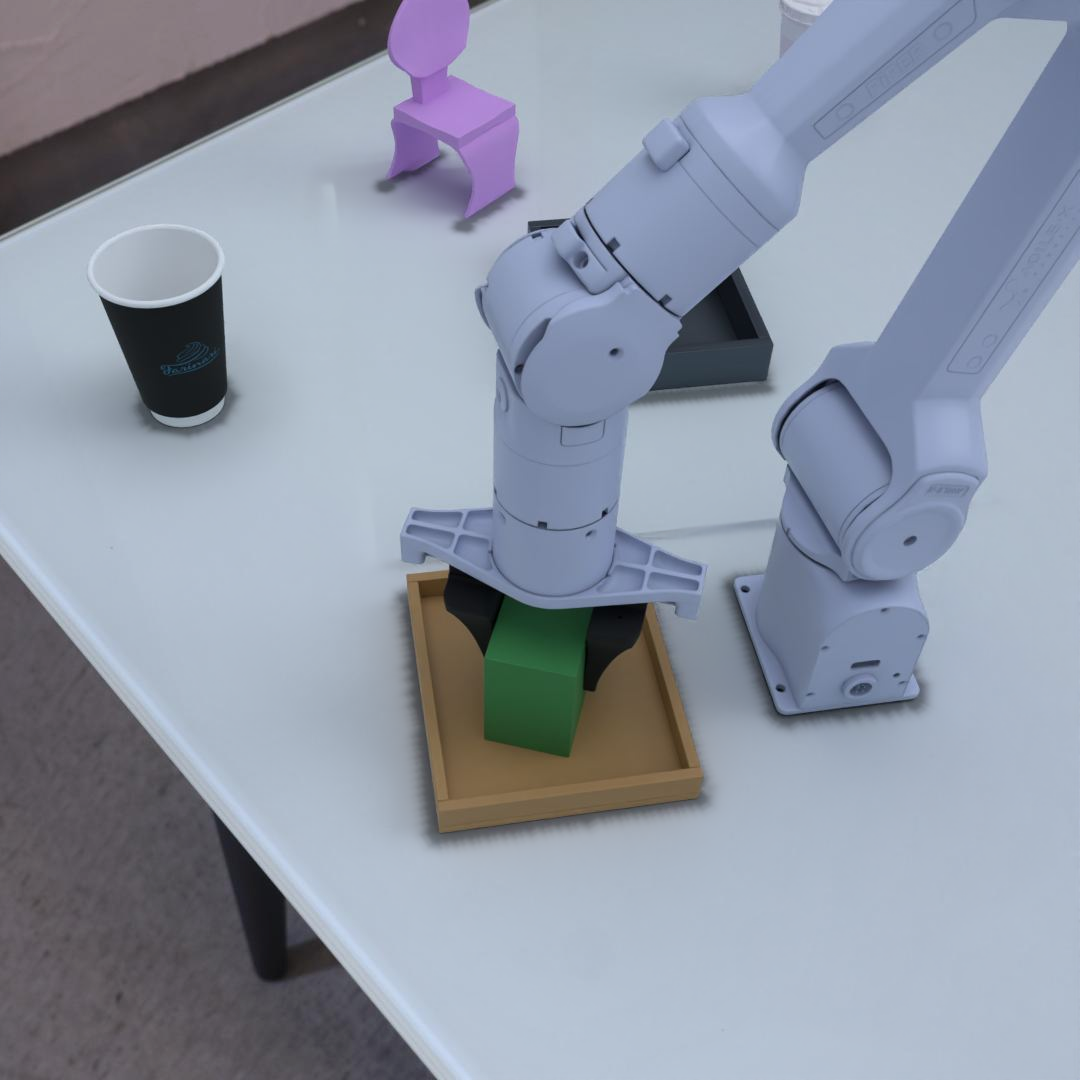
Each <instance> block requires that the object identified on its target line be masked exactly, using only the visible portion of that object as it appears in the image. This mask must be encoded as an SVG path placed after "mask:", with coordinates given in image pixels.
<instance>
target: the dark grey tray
mask: <svg viewBox="0 0 1080 1080" xmlns="http://www.w3.org/2000/svg"><path fill="white" fill-rule="evenodd" d="M570 218H571V217H568V218H556V219H555V218H554V219H553V218H552V219H541V220H528V221H527V234H529V233H531V232H534V231H537V230H541V229H548V228H558V227H559V226H560V225H562V224H563V223H564V222H565V221H566V220H569V219H570ZM680 323H681V324H682V328H681V329H680V330H679V331H678V332H677V333H678V334H679V337H678V338H677V339H675V340H674V341H673V342H672V343H671V344H670V346H669V347H668V349H667V350H666V353H665V356H664V361H663V365H662V368H661V371H660V373H659V375H658V377H657V379H656V381H655V383H654V384H653V386H652V387H651V389H650V390H649V391H648V392H656V391H666V390H677V389H688V388H698V387H699V388H700V387H709V386H710V387H711V386H720V385H731V384H739V383H740V384H742V383H755V382H763V381H767V379H768V375H769V370H770V365H771V359H772V355H773V350H774V346H775V344H774V342H773V340H772V338H771V335H770V333H769V330H768V329H767V326H766V324H765V322H764V320H763V317H762V315H761V313H760V311H759V309H758V306H757V304H756V302H755V299H754V297H753V295H752V292H751V291H750V288H749V286H748V284H747V281H746V279H745V277H744V275H743V272H742V270H741V268H740V267H738V268H737V269H736V270H735V271H734V272H733V273H732V274H730V275H729V276H728V277H727V278H726V279H725V280H724V281H723V282H721V283H720V284H719V285H718V286H717V287H716V288H715V289H713V290H712V291H711V292H710V293H709V294H708V295H707V296H706V297H704V298H703V299H702V300H701V301H700V302H699V303H698V304H696V305H695V306H694V307H693V308H692V309H691V310H690V311H688V312H687V313H686V314H685V315H684V316H682V318H681V319H680Z"/></svg>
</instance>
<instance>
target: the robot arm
mask: <svg viewBox="0 0 1080 1080" xmlns="http://www.w3.org/2000/svg"><path fill="white" fill-rule="evenodd" d="M998 19H1017V20H1018V19H1019V20H1036V21H1050V22H1051V21H1053V22H1066V32H1065V34H1064V36H1063V38H1062V39H1061V41H1060V42H1059V43H1058V45H1057V47H1056V49H1055V51H1054V52H1053V54H1052V55H1051V57H1050V59H1049V60H1048V62H1047V63H1046V65H1045V66H1044V68H1043V70H1042V72H1041V73H1040V74H1039V77H1038V78H1037V80H1036V81H1035V83H1034V85H1033V86H1032V88H1031V90H1030V91H1029V93H1028V94H1027V96H1026V98H1025V100H1024V101H1023V103H1022V104H1021V105H1020V107H1019V109H1018V111H1017V113H1016V114H1015V115H1014V117H1013V119H1012V121H1011V122H1010V123H1009V125H1008V127H1007V128H1006V130H1005V132H1004V133H1003V135H1002V137H1001V138H1000V141H998V143H997V145H996V147H995V148H994V150H992V153H991V155H990V156H989V158H988V159H987V161H986V163H985V164H984V166H983V168H982V169H981V171H980V172H979V174H978V176H977V177H976V179H975V181H974V183H973V184H972V186H971V187H970V188H969V190H968V192H967V193H966V195H965V197H964V199H963V200H962V201H961V203H960V205H959V207H958V208H957V209H956V211H955V213H954V215H953V216H952V218H951V220H950V221H949V223H948V224H947V225H946V227H945V229H944V231H943V233H942V234H941V236H940V237H939V239H938V241H937V242H936V244H935V245H934V247H933V249H932V250H931V252H930V254H929V255H928V257H927V259H926V260H925V261H924V264H923V265H922V267H921V268H920V269H919V271H918V273H917V275H916V276H915V278H914V280H913V281H912V283H911V284H910V286H909V288H908V289H907V291H906V293H904V296H903V298H902V299H901V301H900V303H898V305H897V308H896V309H895V311H894V312H893V314H892V316H891V317H890V319H889V320H888V322H887V324H886V325H885V327H884V328H883V330H882V332H881V333H880V335H879V336H878V338H877V339H876V341H869V340H868V341H867V340H866V341H855V342H854V341H853V342H847V343H841V344H838V345H835V346H832V347H831V348H830V350H829V351H828V353H827V355H826V356H825V358H824V360H823V361H822V363H821V364H820V366H819V367H818V369H817V370H816V371H815V372H814V373H813V374H812V375H811V377H809V378H808V379H807V380H806V381H805V382H803V383H802V384H801V385H800V386H799V387H797V388H796V389H795V390H794V391H793V392H792V393H790V395H789V396H788V397H786V399H785V400H784V402H783V403H782V404H781V405H780V407H779V408H778V410H777V412H776V413H775V416H774V419H773V421H772V424H771V430H770V432H771V433H770V437H771V441H772V445H773V446H774V449H775V450H776V452H777V453H778V455H780V457H781V459H782V460H783V461H786V463H787V464H786V467H785V471H784V475H783V480H782V481H783V483H784V486H785V491H784V493H783V494H784V495H783V499H782V503H781V507H780V509H779V514H778V519H777V523H776V526H775V531H774V535H773V539H772V544H771V548H770V550H769V551H770V552H769V554H768V555H769V556H768V559H767V564H766V568H765V572H764V573H761V574H760V573H759V574H749V575H741V576H737V577H736V578H735V579H734V580H733V584H732V586H733V589H734V592H735V595H736V599H737V601H738V604H739V608H740V610H741V613H742V615H743V618H744V622H745V624H746V628H747V630H748V633H749V635H750V638H751V641H752V643H753V647H754V649H755V652H756V654H757V655H756V656H757V658H758V661H759V664H760V666H761V669H762V673H763V675H764V678H765V681H766V684H767V686H768V689H769V692H770V695H771V698H772V702H773V704H774V706H775V710H776V711H777V712H778V713H779V714H781V715H783V716H784V715H785V716H789V715H798V714H804V713H812V712H813V713H814V712H819V711H820V712H821V711H828V710H837V709H843V708H850V707H851V708H852V707H859V706H868V705H874V704H875V705H876V704H882V703H883V704H884V703H890V702H898V701H899V702H900V701H906V700H907V701H908V700H914V699H916V698H917V697H918V696H919V694H920V690H921V688H920V686H919V683H918V682H917V679H916V677H915V674H914V671H915V669H916V666H917V664H918V660H919V658H920V656H921V654H922V651H923V649H924V646H925V644H926V642H927V640H928V636H929V633H930V627H931V625H930V620H929V616H928V614H927V610H926V609H925V606H924V603H923V600H922V598H921V595H920V590H919V584H918V578H917V574H918V572H920V571H923V570H924V569H926V568H927V567H929V566H931V565H933V564H934V563H935V562H936V561H938V560H939V559H940V558H942V557H943V556H944V555H945V554H946V553H947V552H948V551H949V550H950V549H951V548H952V547H953V546H954V544H955V543H956V541H957V539H958V538H959V536H960V534H961V533H962V531H963V529H964V527H965V524H966V522H967V520H968V514H969V509H970V504H971V502H972V500H973V497H974V496H975V494H976V493H977V491H978V490H979V488H980V486H981V485H982V484H983V482H984V481H985V480H986V479H987V477H988V476H989V461H988V455H987V447H986V439H985V431H984V424H983V417H982V404H981V403H982V398H983V396H984V395H985V394H986V392H987V391H988V390H989V388H990V387H991V386H992V384H993V383H994V381H995V380H996V378H997V377H998V375H999V374H1000V372H1001V371H1002V370H1003V369H1004V367H1005V366H1006V364H1007V363H1008V361H1009V360H1010V358H1011V357H1012V356H1013V354H1014V353H1015V351H1016V350H1017V349H1018V347H1019V346H1020V344H1021V343H1022V341H1023V340H1024V338H1025V337H1026V336H1027V335H1028V333H1029V331H1030V330H1031V329H1032V327H1033V326H1034V325H1035V323H1036V322H1037V320H1038V319H1039V317H1041V315H1042V313H1043V311H1044V310H1045V309H1046V307H1047V306H1048V304H1049V303H1050V301H1052V299H1053V298H1054V296H1055V295H1056V293H1057V292H1058V290H1059V289H1060V287H1061V286H1062V285H1063V283H1064V282H1065V281H1066V279H1067V277H1068V276H1069V275H1070V273H1071V272H1072V271H1073V269H1074V268H1075V266H1076V265H1077V263H1078V262H1079V261H1080V0H834V1H833V2H832V3H831V4H830V5H829V6H828V7H827V8H826V9H825V10H824V11H823V13H822V14H821V15H820V16H819V17H818V18H817V19H816V20H815V21H814V22H813V23H812V24H811V25H810V26H809V28H808V29H807V30H806V31H805V32H804V33H803V34H802V35H801V36H800V37H799V38H798V39H797V40H796V41H795V43H794V44H793V45H792V46H791V47H790V48H789V49H788V50H787V51H786V52H785V53H784V54H783V55H782V57H781V58H780V59H779V58H778V60H777V61H776V62H775V63H774V64H773V65H772V66H771V67H770V68H769V69H768V70H767V72H766V73H764V75H763V76H762V77H761V78H760V79H759V80H758V81H757V82H756V83H755V84H754V85H753V86H752V87H751V89H749V91H747V92H745V93H742V94H734V95H733V94H732V95H714V96H712V95H711V96H702V97H698V98H695V99H693V101H691V102H690V103H689V105H687V106H686V107H685V108H684V109H683V110H682V111H680V113H679V114H678V115H677V116H676V117H675V118H674V119H673V120H671V119H669V118H662V120H660V121H659V123H657V125H656V126H654V128H652V130H650V132H648V133H647V134H646V135H645V136H643V138H642V140H641V144H642V146H643V148H642V149H641V150H640V151H639V152H638V153H637V154H636V155H635V156H633V158H632V159H631V160H630V161H629V162H628V163H627V164H626V165H625V166H623V167H622V168H621V169H620V171H618V172H617V173H616V174H615V175H614V176H613V177H612V178H611V179H610V180H609V181H607V182H606V184H605V185H603V187H601V188H600V190H598V191H597V192H596V193H595V194H594V195H593V196H592V197H591V198H590V199H589V200H588V201H587V202H585V205H583V206H582V207H581V208H580V209H578V210H577V211H576V213H574V214H573V215H572V216H571V217H569V218H570V219H569V220H566V221H565V222H564V223H563V224H562V225H560V226H559V227H558V228H548V229H541V230H537V231H534V232H531V233H529V234H524V235H522V236H521V237H519V238H517V239H516V240H514V241H513V242H511V243H510V244H509V245H508V246H507V247H506V248H505V249H504V250H503V251H502V252H501V253H500V255H499V256H498V257H497V259H496V260H495V262H494V264H493V266H492V267H491V269H490V270H489V272H488V274H487V276H486V278H485V280H486V283H485V284H481V285H478V286H477V287H475V289H474V291H473V292H474V293H473V294H474V299H475V305H476V308H477V310H478V312H479V314H480V317H481V319H482V320H483V322H484V324H485V325H486V327H487V328H488V329H489V330H490V331H491V333H492V336H493V337H494V340H495V342H496V345H497V347H498V349H497V351H496V354H495V361H496V362H495V398H494V402H493V442H492V443H493V446H492V447H493V448H492V449H493V451H492V453H493V455H492V456H493V457H492V506H490V507H489V506H488V507H473V508H459V509H458V508H457V509H430V508H429V509H427V508H421V507H414V506H411V507H410V510H409V512H408V514H407V517H406V519H405V521H404V524H403V526H402V529H401V530H400V533H399V542H400V557H401V560H400V561H401V562H402V563H408V564H413V565H423V564H424V563H425V562H426V559H427V557H430V558H434V559H438V560H441V561H442V562H444V563H446V564H447V565H448V570H449V574H448V581H447V584H446V586H445V589H444V593H443V599H444V604H445V608H446V611H448V612H449V613H451V614H452V615H454V616H455V617H456V618H458V619H459V620H460V621H461V622H462V623H463V624H464V625H465V626H466V627H467V629H468V630H469V631H470V633H471V634H472V635H473V637H474V639H475V640H476V642H477V644H478V646H479V648H480V650H481V652H482V654H483V657H485V654H486V651H487V648H488V645H489V642H490V639H491V635H492V632H493V629H494V626H495V623H496V620H497V617H498V614H499V611H500V608H501V605H502V602H503V599H504V596H505V594H506V595H508V596H510V597H512V598H514V599H516V600H518V601H520V602H522V603H524V604H527V605H530V606H533V607H538V608H544V609H568V608H581V607H593V611H592V615H591V619H590V622H589V626H588V630H587V636H586V638H587V647H588V649H587V664H586V668H585V672H584V680H583V690H586V691H591V692H594V691H596V687H597V683H598V681H599V679H600V677H601V676H602V674H603V672H604V671H605V669H606V668H607V667H608V665H609V664H610V663H611V662H612V661H613V660H614V659H615V658H616V657H617V656H618V655H620V654H621V653H623V652H624V651H626V650H628V649H631V648H632V647H633V646H634V645H635V643H636V642H637V640H638V638H639V636H640V634H641V631H642V627H643V622H644V618H645V614H646V609H647V605H648V603H650V602H653V603H660V604H665V605H669V606H675V607H674V615H676V617H678V618H682V619H687V620H691V621H697V620H698V616H699V611H700V607H701V600H702V596H703V591H704V586H705V581H706V575H707V570H708V564H706V563H702V562H699V561H694V560H690V559H687V558H684V557H681V556H679V555H677V554H674V553H672V552H670V551H667V550H665V549H663V548H661V547H660V546H657V545H655V544H654V543H651V542H649V541H648V540H645V539H643V538H641V537H639V536H637V535H636V534H635V535H634V534H632V533H631V532H628V531H627V530H625V529H623V528H621V527H618V526H617V523H618V516H619V515H618V513H619V505H620V496H621V495H620V494H621V485H622V478H623V470H624V460H625V451H626V442H627V433H628V425H629V417H630V415H629V414H630V413H629V410H630V405H632V404H633V403H634V402H636V401H638V400H641V399H642V398H643V397H645V396H646V395H647V394H648V392H650V391H649V390H650V389H651V387H652V386H653V384H654V383H655V381H656V379H657V377H658V375H659V373H660V371H661V368H662V365H663V361H664V356H665V353H666V350H667V349H668V347H669V346H670V344H671V343H672V342H673V341H674V340H675V339H677V338H678V337H679V334H678V333H677V332H678V331H679V330H680V329H681V328H682V324H681V323H680V319H681V318H682V316H684V315H685V314H686V313H687V312H688V311H690V310H691V309H692V308H693V307H694V306H695V305H696V304H698V303H699V302H700V301H701V300H702V299H703V298H704V297H706V296H707V295H708V294H709V293H710V292H711V291H712V290H713V289H715V288H716V287H717V286H718V285H719V284H720V283H721V282H723V281H724V280H725V279H726V278H727V277H728V276H729V275H730V274H732V273H733V272H734V271H735V270H736V269H737V268H738V267H739V268H740V267H741V266H742V265H743V264H745V262H747V261H748V260H749V259H750V258H751V257H752V256H753V255H755V254H756V253H757V252H758V251H759V250H760V249H762V247H764V246H765V245H766V244H767V243H768V242H769V241H770V240H771V239H773V238H774V237H775V236H776V235H777V234H778V233H780V232H781V231H782V230H783V228H785V227H786V226H787V225H788V224H790V223H791V222H792V221H793V220H794V219H795V218H796V217H797V216H798V213H799V209H800V206H801V200H802V194H803V189H804V188H803V187H804V181H805V175H806V172H807V168H808V166H809V164H810V163H811V162H812V161H814V160H815V159H817V158H818V157H819V156H820V155H821V154H822V153H824V152H826V150H828V149H829V148H830V147H832V146H833V145H834V144H835V143H837V142H839V140H841V139H843V137H845V136H846V135H848V134H849V132H851V131H852V130H854V129H855V128H856V127H858V126H859V125H860V124H861V123H862V122H864V121H865V120H866V119H868V118H869V117H871V116H872V115H873V114H875V112H877V111H878V110H879V109H881V108H882V107H883V106H885V105H886V104H887V103H888V102H889V101H891V100H892V99H893V98H895V97H896V96H898V94H900V93H901V92H902V91H904V90H905V89H906V88H908V87H909V86H910V85H911V84H913V83H914V82H916V80H918V79H919V78H921V77H922V76H923V75H924V74H926V73H927V72H928V71H929V70H931V69H932V68H934V67H935V66H936V65H938V63H940V62H941V61H942V60H943V59H945V58H946V57H948V55H950V54H951V53H952V52H954V51H955V50H957V48H959V47H960V46H962V44H964V43H965V42H967V41H968V40H969V39H971V38H972V37H973V36H975V34H977V33H978V32H980V31H981V30H982V29H983V28H984V27H986V26H987V25H988V24H990V23H991V22H993V21H995V20H998ZM745 591H746V592H745ZM778 689H779V690H782V691H778Z"/></svg>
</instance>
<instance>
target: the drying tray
mask: <svg viewBox="0 0 1080 1080" xmlns="http://www.w3.org/2000/svg"><path fill="white" fill-rule="evenodd" d="M448 574H449V569H443V570H434V571H433V570H432V571H424V572H415V573H406V574H405V577H406V579H405V580H406V592H407V602H408V609H409V611H408V612H409V617H410V625H411V633H412V639H413V645H414V646H413V647H414V654H415V663H416V669H417V676H418V677H417V678H418V685H419V691H420V692H419V693H420V699H421V706H422V714H423V722H424V728H425V736H426V744H427V751H428V758H429V765H430V766H429V767H430V774H431V775H430V776H431V781H432V790H433V797H434V805H435V812H436V818H437V819H436V820H437V826H438V832H439V834H445V833H451V832H459V831H465V830H474V829H480V828H488V827H495V826H496V827H497V826H503V825H510V824H517V823H523V822H525V823H526V822H532V821H538V820H547V819H553V818H561V817H570V816H576V815H585V814H591V813H599V812H607V811H612V810H613V811H615V810H621V809H628V808H635V807H642V806H650V805H657V804H664V803H665V804H666V803H672V802H679V801H688V800H694V799H695V800H696V799H698V798H699V797H700V792H701V789H702V785H703V780H704V772H703V770H702V767H701V762H700V759H699V757H698V752H697V749H696V745H695V742H694V738H693V735H692V733H691V732H692V731H691V729H690V728H691V727H690V726H689V722H688V718H687V716H686V711H685V708H684V705H683V702H682V697H681V694H680V692H679V688H678V685H677V681H676V678H675V675H674V671H673V667H672V664H671V661H670V657H669V653H668V651H667V647H666V644H665V641H664V637H663V633H662V630H661V627H660V622H659V619H658V616H657V613H656V609H655V606H654V602H650V603H648V605H647V609H646V614H645V618H644V622H643V627H642V631H641V634H640V636H639V638H638V640H637V642H636V643H635V645H634V646H633V647H632V648H631V649H628V650H626V651H624V652H623V653H621V654H620V655H618V656H617V657H616V658H615V659H614V660H613V661H612V662H611V663H610V664H609V665H608V667H607V668H606V669H605V671H604V672H603V674H602V676H601V677H600V679H599V681H598V683H597V687H596V691H594V692H591V691H586V694H585V697H584V701H583V705H582V709H581V713H580V717H579V721H578V725H577V729H576V732H575V736H574V740H573V744H572V748H571V752H570V756H569V758H568V757H563V756H558V755H554V754H549V753H544V752H540V751H535V750H531V749H526V748H521V747H517V746H512V745H507V744H503V743H498V742H494V741H489V740H485V739H484V657H483V654H482V652H481V650H480V648H479V646H478V644H477V642H476V640H475V639H474V637H473V635H472V634H471V633H470V631H469V630H468V629H467V627H466V626H465V625H464V624H463V623H462V622H461V621H460V620H459V619H458V618H456V617H455V616H454V615H452V614H451V613H449V612H448V611H446V608H445V604H444V599H443V593H444V589H445V586H446V584H447V581H448Z"/></svg>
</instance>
